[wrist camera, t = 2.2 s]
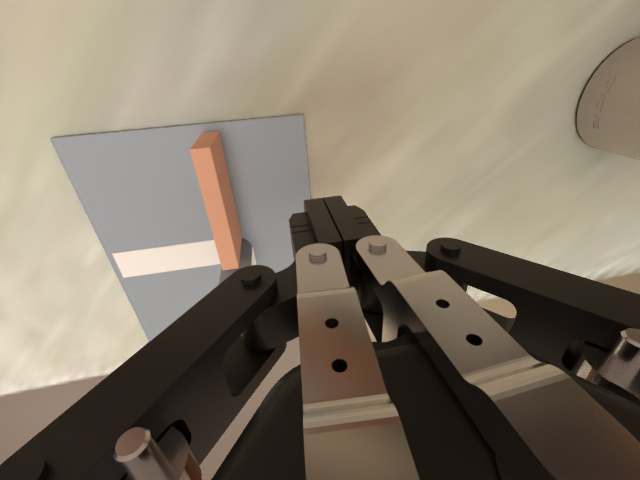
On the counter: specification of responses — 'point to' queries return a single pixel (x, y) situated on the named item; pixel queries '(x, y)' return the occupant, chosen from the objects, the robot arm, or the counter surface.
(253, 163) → the slate board
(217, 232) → the salmon long narrow block
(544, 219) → the counter surface
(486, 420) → the robot arm
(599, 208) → the counter surface
